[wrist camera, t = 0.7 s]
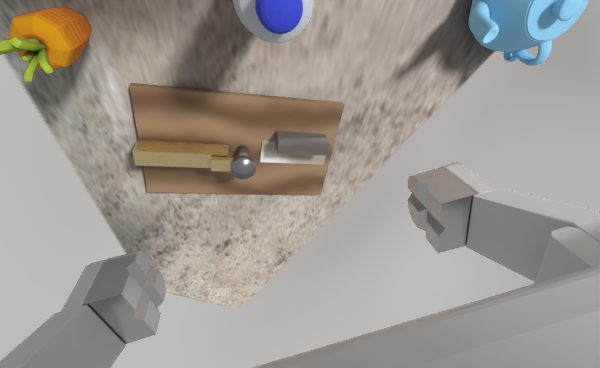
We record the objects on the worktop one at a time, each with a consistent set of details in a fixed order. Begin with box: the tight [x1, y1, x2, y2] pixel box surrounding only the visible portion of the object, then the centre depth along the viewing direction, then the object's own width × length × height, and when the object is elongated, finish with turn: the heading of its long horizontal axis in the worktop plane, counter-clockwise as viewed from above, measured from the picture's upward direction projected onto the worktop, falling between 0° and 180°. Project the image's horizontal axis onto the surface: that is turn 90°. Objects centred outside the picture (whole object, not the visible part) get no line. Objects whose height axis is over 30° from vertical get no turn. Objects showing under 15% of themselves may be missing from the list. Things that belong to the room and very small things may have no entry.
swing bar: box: [132, 140, 256, 179], centre depth 45 cm, size 17×4×5 cm, turn 80°
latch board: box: [129, 83, 344, 195], centre depth 48 cm, size 18×30×5 cm, turn 80°
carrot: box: [0, 7, 92, 82], centre depth 30 cm, size 5×5×15 cm
